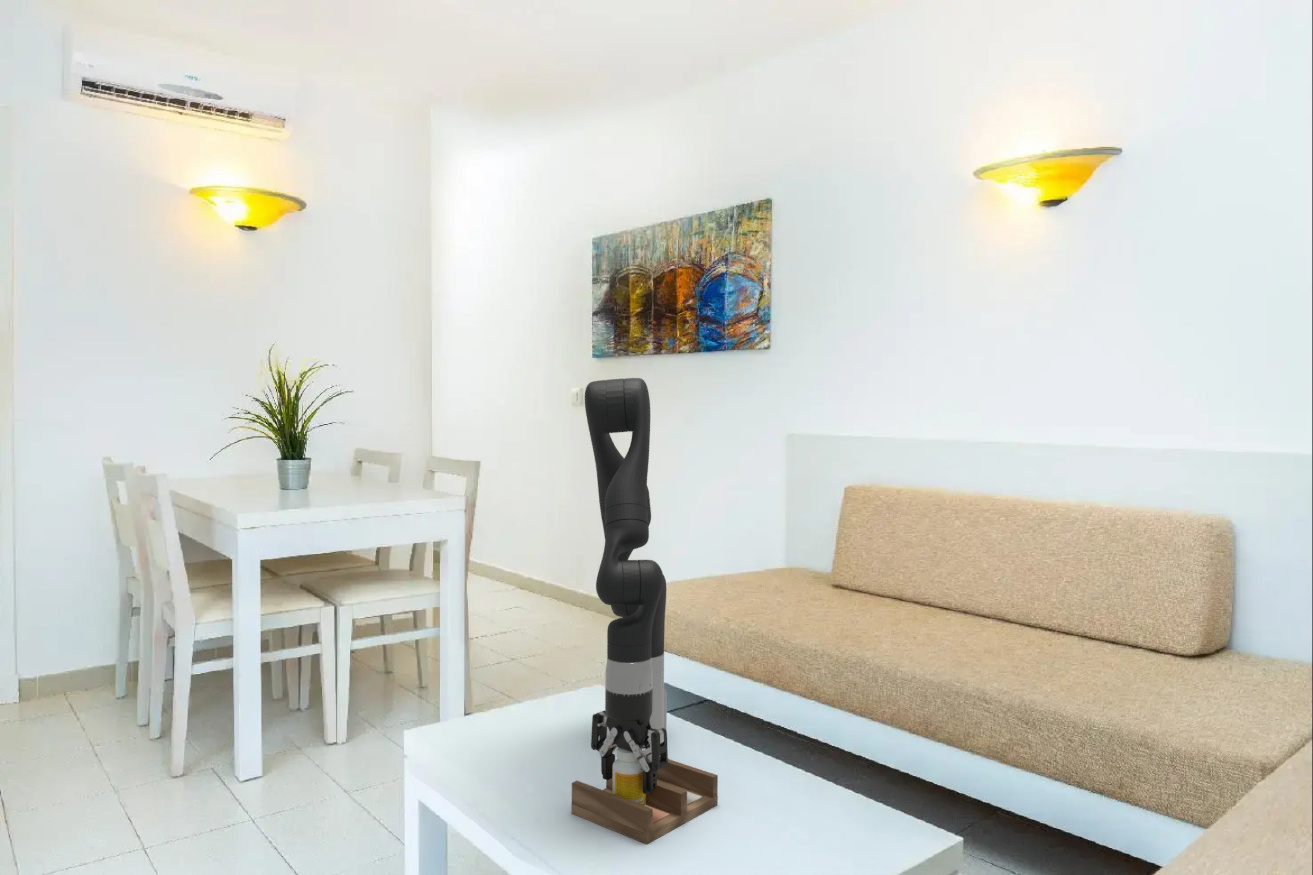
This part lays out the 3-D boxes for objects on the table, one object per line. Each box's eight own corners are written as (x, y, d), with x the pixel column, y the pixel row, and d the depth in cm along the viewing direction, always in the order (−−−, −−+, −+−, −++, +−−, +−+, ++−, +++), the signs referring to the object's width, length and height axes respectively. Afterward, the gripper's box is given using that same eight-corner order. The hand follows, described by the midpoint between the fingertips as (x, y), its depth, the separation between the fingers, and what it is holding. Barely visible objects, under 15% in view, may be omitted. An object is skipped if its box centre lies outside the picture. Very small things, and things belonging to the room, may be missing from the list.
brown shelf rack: (643, 778, 166) (644, 751, 166) (717, 804, 156) (717, 775, 155) (571, 813, 152) (571, 782, 152) (646, 844, 142) (647, 811, 142)
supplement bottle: (607, 803, 152) (607, 745, 151) (637, 797, 154) (637, 740, 153) (620, 817, 147) (620, 757, 146) (651, 811, 149) (651, 751, 149)
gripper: (678, 688, 148) (677, 790, 149) (611, 671, 157) (611, 766, 158) (647, 700, 142) (647, 805, 143) (580, 681, 151) (579, 780, 152)
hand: (628, 785), depth 150 cm, fingers open, 8 cm apart
